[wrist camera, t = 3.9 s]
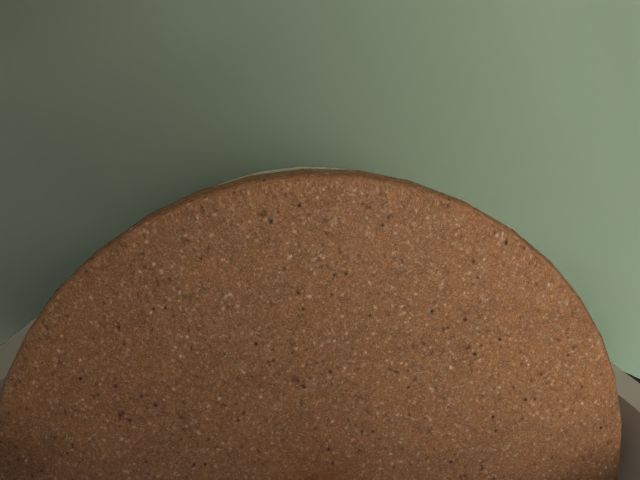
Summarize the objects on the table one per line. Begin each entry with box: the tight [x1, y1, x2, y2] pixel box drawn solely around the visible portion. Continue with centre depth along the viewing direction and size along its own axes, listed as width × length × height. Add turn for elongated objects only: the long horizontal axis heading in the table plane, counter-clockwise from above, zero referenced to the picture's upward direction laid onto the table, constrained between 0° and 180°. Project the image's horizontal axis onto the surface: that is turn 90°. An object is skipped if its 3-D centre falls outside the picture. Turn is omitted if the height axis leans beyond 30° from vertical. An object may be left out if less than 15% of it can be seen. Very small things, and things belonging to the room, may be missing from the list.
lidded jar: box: [0, 166, 622, 480], centre depth 11 cm, size 11×11×9 cm
